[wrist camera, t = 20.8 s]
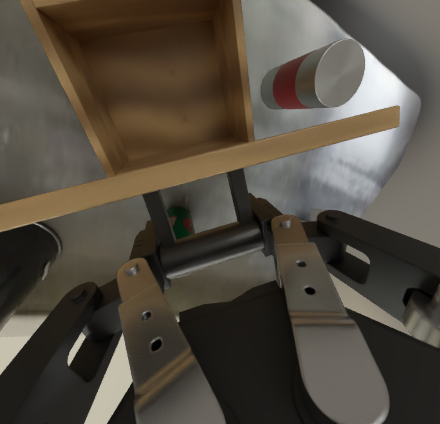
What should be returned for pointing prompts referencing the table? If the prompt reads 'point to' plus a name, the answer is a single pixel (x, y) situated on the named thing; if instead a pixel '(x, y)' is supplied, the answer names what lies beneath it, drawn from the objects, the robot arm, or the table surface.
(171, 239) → the lid
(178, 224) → the soda can
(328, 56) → the can
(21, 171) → the table surface
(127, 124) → the chest
